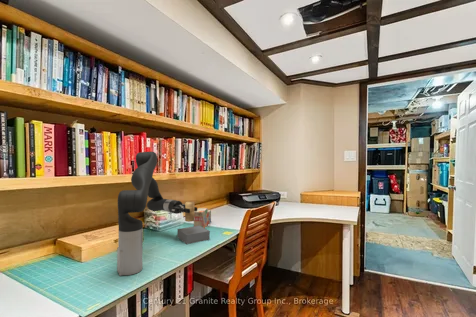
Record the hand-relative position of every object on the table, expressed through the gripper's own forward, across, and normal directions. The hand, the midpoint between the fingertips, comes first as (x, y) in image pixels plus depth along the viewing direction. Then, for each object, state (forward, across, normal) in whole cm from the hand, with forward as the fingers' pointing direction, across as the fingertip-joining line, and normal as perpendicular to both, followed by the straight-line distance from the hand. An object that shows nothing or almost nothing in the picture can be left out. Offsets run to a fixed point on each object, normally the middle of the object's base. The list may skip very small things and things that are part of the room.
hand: (193, 210), depth 136 cm
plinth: (-5, +6, +18) cm, 20 cm away
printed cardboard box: (-20, +29, +19) cm, 40 cm away
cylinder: (-3, 0, +6) cm, 7 cm away
